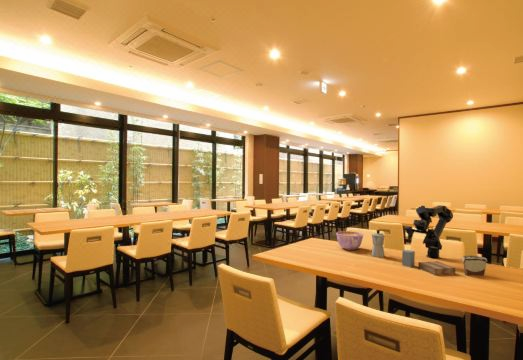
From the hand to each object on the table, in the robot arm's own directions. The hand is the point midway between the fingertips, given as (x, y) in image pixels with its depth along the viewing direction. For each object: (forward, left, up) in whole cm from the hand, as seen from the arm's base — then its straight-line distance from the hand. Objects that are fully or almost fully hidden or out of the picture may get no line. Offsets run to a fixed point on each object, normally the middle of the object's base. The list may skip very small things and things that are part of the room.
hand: (415, 242), depth 183 cm
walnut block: (-1, +16, -14) cm, 21 cm away
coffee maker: (+13, -20, -14) cm, 28 cm away
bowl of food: (+23, -42, -14) cm, 50 cm away
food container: (-17, +24, -14) cm, 32 cm away
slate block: (+8, +4, -14) cm, 16 cm away
